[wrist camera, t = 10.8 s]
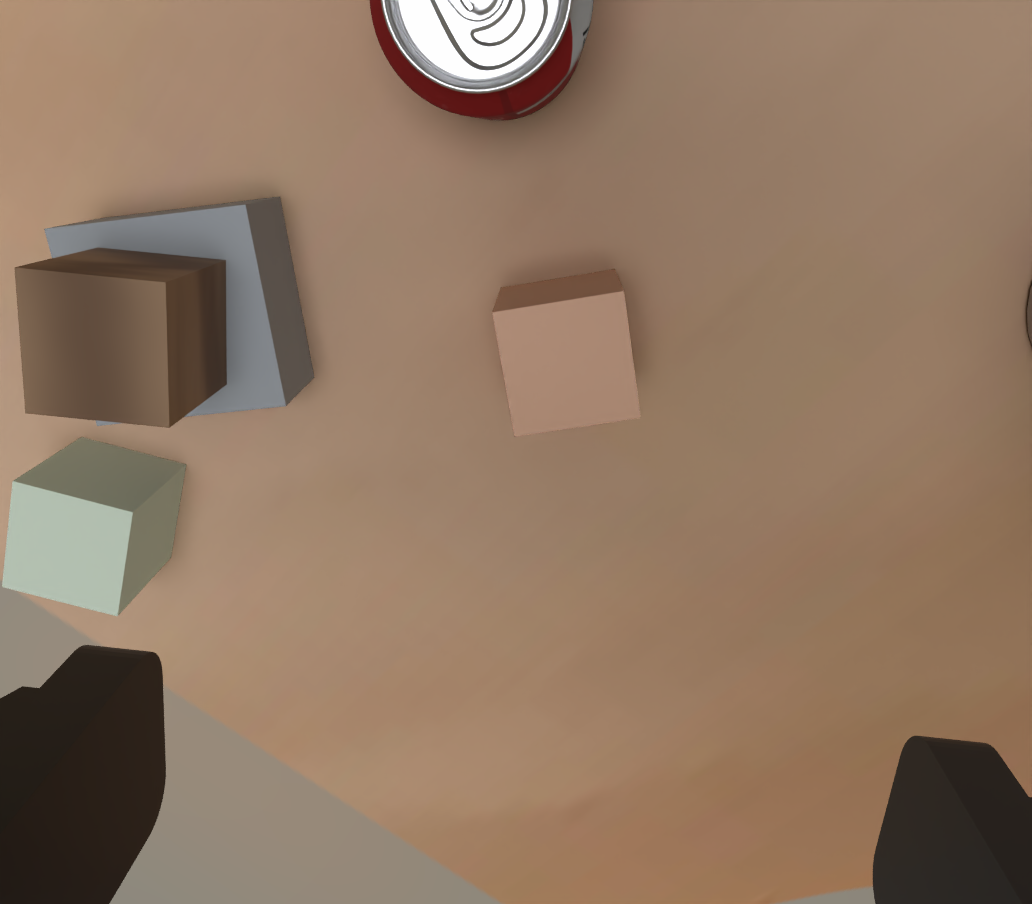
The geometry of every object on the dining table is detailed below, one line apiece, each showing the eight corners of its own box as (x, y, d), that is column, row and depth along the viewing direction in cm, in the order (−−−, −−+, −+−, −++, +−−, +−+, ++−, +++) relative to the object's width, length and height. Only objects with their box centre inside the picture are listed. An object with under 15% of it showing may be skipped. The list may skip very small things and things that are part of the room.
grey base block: (281, 196, 41) (245, 204, 36) (315, 376, 43) (285, 406, 39) (102, 217, 41) (44, 228, 37) (146, 394, 44) (97, 425, 39)
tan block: (614, 268, 41) (623, 291, 35) (629, 379, 43) (641, 418, 37) (500, 287, 42) (492, 312, 36) (519, 396, 43) (514, 437, 37)
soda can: (489, 155, 40) (462, 165, 28) (381, 19, 38) (308, -28, 27) (617, 43, 38) (644, 6, 27) (511, -103, 37) (491, -208, 25)
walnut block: (226, 259, 37) (165, 282, 31) (226, 384, 38) (169, 427, 33) (98, 247, 37) (14, 267, 31) (104, 372, 38) (25, 413, 33)
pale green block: (186, 464, 45) (132, 512, 39) (171, 557, 46) (117, 616, 41) (82, 436, 45) (12, 481, 39) (70, 530, 46) (1, 586, 40)
